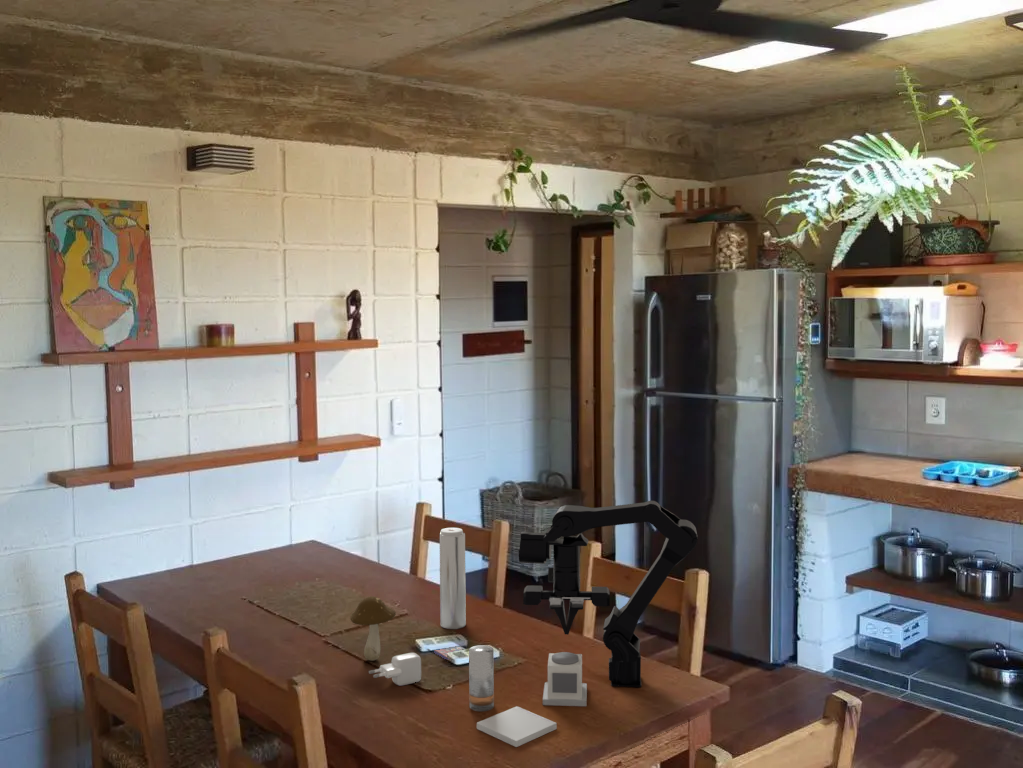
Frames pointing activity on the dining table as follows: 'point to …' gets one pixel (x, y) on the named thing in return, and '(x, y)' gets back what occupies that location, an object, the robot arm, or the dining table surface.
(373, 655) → the mushroom
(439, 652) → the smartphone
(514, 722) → the grey flat square slab
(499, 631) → the dining table surface
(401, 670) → the power adapter
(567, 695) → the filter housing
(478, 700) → the cartridge
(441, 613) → the white tall cylinder
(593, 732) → the dining table surface
